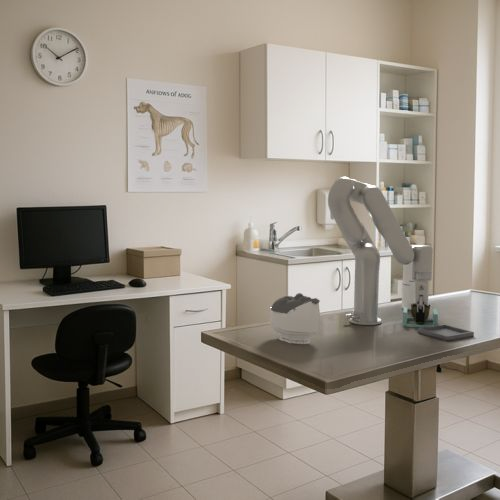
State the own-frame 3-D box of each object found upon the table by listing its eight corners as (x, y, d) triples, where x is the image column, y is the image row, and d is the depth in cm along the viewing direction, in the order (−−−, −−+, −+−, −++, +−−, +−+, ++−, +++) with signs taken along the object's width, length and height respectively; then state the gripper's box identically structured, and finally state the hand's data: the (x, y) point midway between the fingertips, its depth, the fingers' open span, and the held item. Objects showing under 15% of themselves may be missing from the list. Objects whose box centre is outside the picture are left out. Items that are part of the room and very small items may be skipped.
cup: (406, 322, 246) (407, 303, 245) (421, 321, 249) (421, 302, 248) (418, 326, 239) (419, 306, 239) (433, 325, 242) (434, 305, 241)
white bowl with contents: (328, 342, 216) (285, 332, 230) (329, 294, 214) (286, 287, 228) (305, 349, 207) (262, 338, 220) (306, 299, 205) (262, 292, 218)
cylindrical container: (418, 309, 271) (420, 253, 268) (401, 308, 272) (403, 253, 270) (417, 306, 278) (419, 252, 275) (401, 305, 279) (403, 251, 276)
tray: (446, 341, 218) (446, 336, 218) (418, 332, 230) (418, 328, 230) (473, 336, 225) (473, 331, 225) (444, 328, 237) (444, 324, 237)
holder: (437, 328, 237) (437, 314, 236) (402, 326, 240) (403, 312, 240) (436, 321, 248) (436, 308, 248) (403, 319, 252) (403, 306, 251)
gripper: (432, 279, 233) (430, 325, 235) (431, 273, 249) (429, 315, 251) (411, 279, 235) (410, 324, 237) (412, 272, 251) (410, 314, 253)
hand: (420, 319), depth 244 cm, fingers closed on cup, 7 cm apart
